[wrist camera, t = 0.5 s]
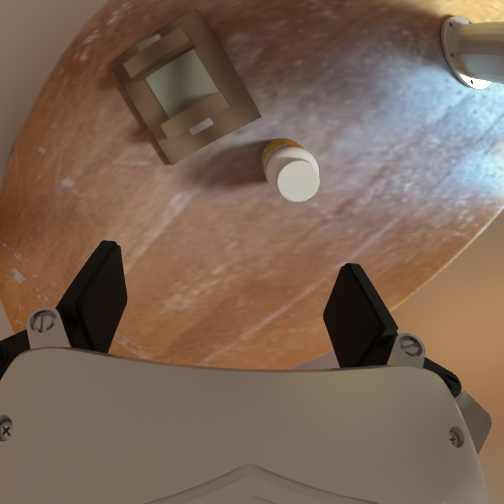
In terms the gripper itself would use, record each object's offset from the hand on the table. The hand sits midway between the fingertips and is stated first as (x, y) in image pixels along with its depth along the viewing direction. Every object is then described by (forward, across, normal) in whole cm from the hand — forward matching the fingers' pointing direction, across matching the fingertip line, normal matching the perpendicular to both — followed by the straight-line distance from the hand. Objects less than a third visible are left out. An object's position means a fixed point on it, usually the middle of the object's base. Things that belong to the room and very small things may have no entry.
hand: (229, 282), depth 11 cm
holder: (+24, +7, -9) cm, 27 cm away
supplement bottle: (+24, -6, -1) cm, 25 cm away
